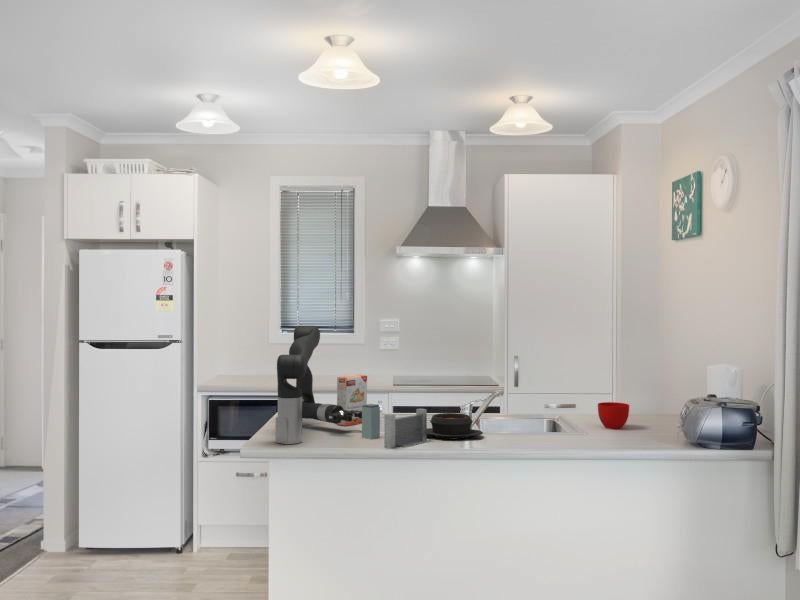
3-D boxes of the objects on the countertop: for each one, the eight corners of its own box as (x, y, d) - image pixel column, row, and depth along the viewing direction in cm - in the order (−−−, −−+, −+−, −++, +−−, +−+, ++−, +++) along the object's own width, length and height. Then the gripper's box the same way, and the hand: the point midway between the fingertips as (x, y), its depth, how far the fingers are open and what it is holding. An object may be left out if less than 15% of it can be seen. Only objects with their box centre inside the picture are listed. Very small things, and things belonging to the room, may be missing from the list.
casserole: (483, 433, 309) (483, 413, 309) (481, 442, 291) (481, 420, 291) (422, 431, 313) (422, 411, 313) (416, 440, 295) (416, 418, 295)
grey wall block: (395, 449, 277) (395, 416, 277) (384, 447, 280) (384, 414, 280) (431, 441, 292) (431, 409, 292) (420, 439, 296) (420, 408, 296)
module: (371, 438, 297) (371, 406, 297) (361, 437, 300) (362, 404, 300) (379, 437, 301) (379, 404, 301) (370, 435, 304) (370, 403, 304)
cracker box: (346, 426, 325) (346, 377, 325) (336, 425, 329) (336, 376, 328) (367, 422, 336) (367, 374, 336) (357, 420, 340) (357, 374, 340)
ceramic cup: (624, 424, 333) (624, 401, 333) (632, 430, 317) (632, 406, 317) (593, 423, 335) (594, 400, 335) (600, 430, 318) (600, 406, 318)
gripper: (317, 406, 310) (346, 410, 299) (342, 402, 321) (371, 406, 310) (317, 424, 310) (346, 429, 299) (342, 420, 321) (371, 424, 310)
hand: (358, 417), depth 305 cm, fingers open, 8 cm apart
